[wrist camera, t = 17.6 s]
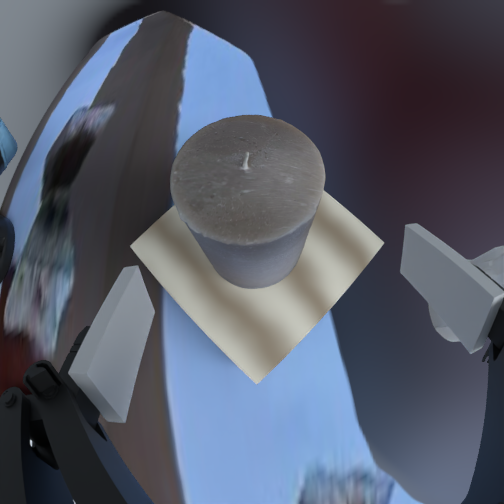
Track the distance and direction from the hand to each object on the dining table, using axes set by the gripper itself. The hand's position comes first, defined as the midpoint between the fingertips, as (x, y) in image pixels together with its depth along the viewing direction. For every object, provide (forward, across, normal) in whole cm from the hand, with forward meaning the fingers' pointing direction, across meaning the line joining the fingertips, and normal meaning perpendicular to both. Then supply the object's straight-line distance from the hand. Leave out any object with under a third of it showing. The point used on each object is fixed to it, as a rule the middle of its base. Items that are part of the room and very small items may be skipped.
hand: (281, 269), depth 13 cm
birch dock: (+20, 0, -10) cm, 22 cm away
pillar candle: (+16, -1, -6) cm, 17 cm away
